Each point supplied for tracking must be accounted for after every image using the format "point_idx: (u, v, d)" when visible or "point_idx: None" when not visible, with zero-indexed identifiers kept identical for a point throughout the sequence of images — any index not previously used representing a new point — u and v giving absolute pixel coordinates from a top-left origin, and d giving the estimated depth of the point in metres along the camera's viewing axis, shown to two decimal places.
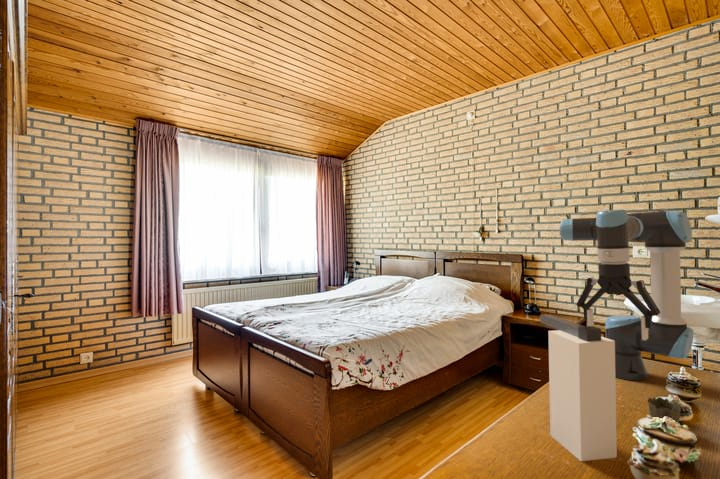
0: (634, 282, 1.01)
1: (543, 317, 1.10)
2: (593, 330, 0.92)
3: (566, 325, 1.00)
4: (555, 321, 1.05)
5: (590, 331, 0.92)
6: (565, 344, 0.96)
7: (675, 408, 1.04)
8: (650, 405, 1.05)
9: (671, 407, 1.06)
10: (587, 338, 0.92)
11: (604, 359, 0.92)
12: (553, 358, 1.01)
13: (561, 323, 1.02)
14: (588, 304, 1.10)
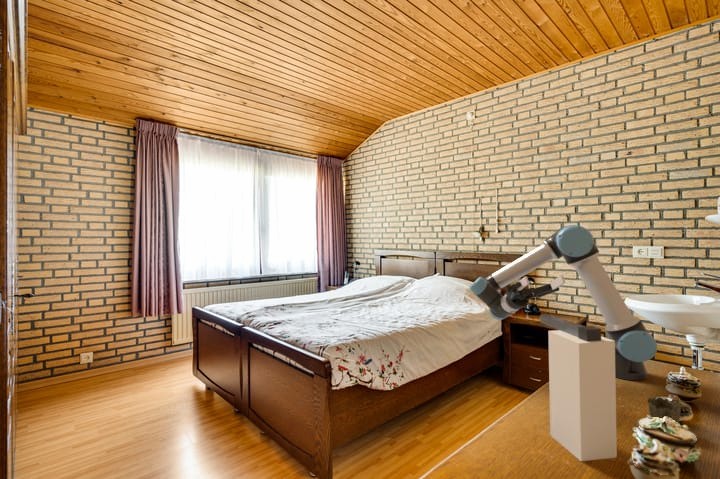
0: None
1: (543, 317, 1.10)
2: (593, 330, 0.92)
3: (566, 325, 1.00)
4: (555, 321, 1.05)
5: (590, 331, 0.92)
6: (565, 344, 0.96)
7: (675, 408, 1.04)
8: (650, 405, 1.05)
9: (671, 407, 1.06)
10: (587, 338, 0.92)
11: (604, 359, 0.92)
12: (553, 358, 1.01)
13: (561, 323, 1.02)
14: (550, 290, 1.32)
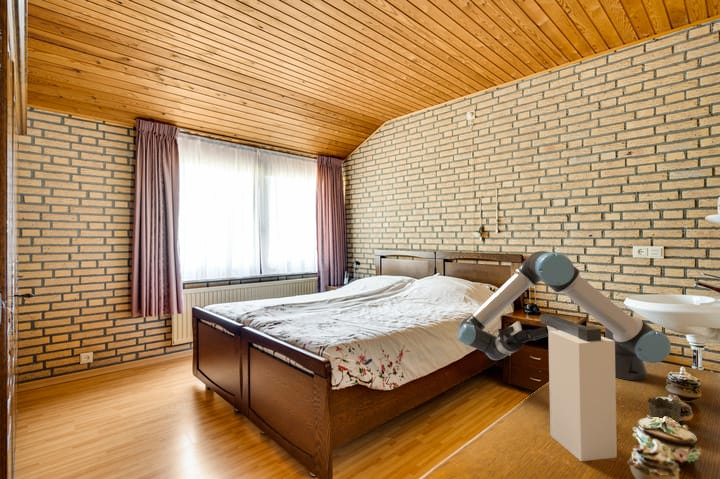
0: None
1: (543, 317, 1.10)
2: (593, 330, 0.92)
3: (566, 325, 1.00)
4: (555, 321, 1.05)
5: (590, 331, 0.92)
6: (565, 344, 0.96)
7: (675, 408, 1.04)
8: (650, 405, 1.05)
9: (671, 407, 1.06)
10: (587, 338, 0.92)
11: (604, 359, 0.92)
12: (553, 358, 1.01)
13: (561, 323, 1.02)
14: (547, 334, 1.21)
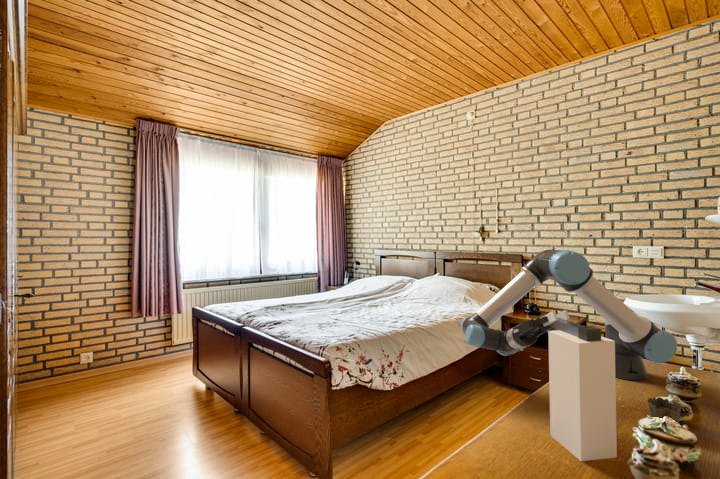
0: None
1: None
2: (593, 330, 0.92)
3: (566, 325, 1.00)
4: (555, 321, 1.05)
5: (590, 331, 0.92)
6: (565, 344, 0.96)
7: (675, 408, 1.04)
8: (650, 405, 1.05)
9: (671, 407, 1.06)
10: (587, 338, 0.92)
11: (604, 359, 0.92)
12: (553, 358, 1.01)
13: (561, 323, 1.02)
14: None
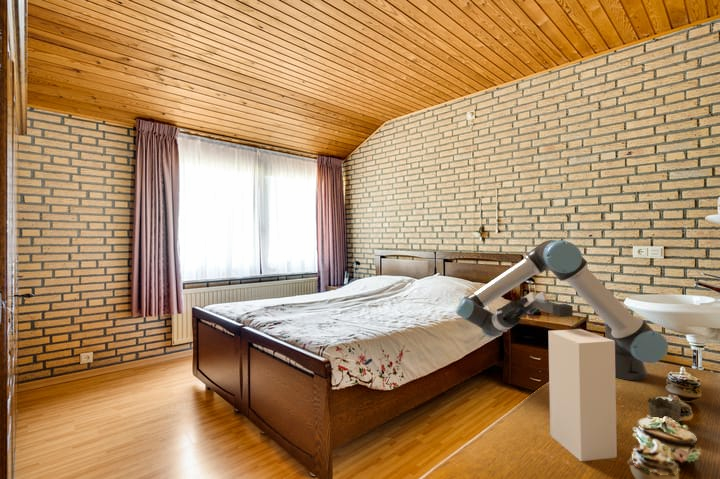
0: None
1: None
2: (565, 307, 1.03)
3: (543, 304, 1.10)
4: None
5: (562, 308, 1.02)
6: (565, 344, 0.96)
7: (675, 408, 1.04)
8: (650, 405, 1.05)
9: (671, 407, 1.06)
10: (560, 314, 1.02)
11: (604, 359, 0.92)
12: (553, 358, 1.01)
13: (538, 302, 1.13)
14: None
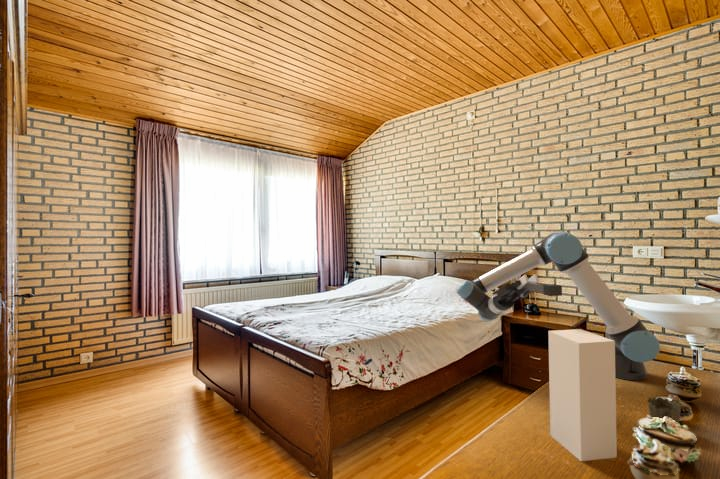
0: None
1: None
2: (555, 286, 1.10)
3: (535, 285, 1.18)
4: None
5: (552, 287, 1.10)
6: (565, 344, 0.96)
7: (675, 408, 1.04)
8: (650, 405, 1.05)
9: (671, 407, 1.06)
10: (550, 293, 1.10)
11: (604, 359, 0.92)
12: (553, 358, 1.01)
13: (531, 284, 1.20)
14: (526, 290, 1.29)
